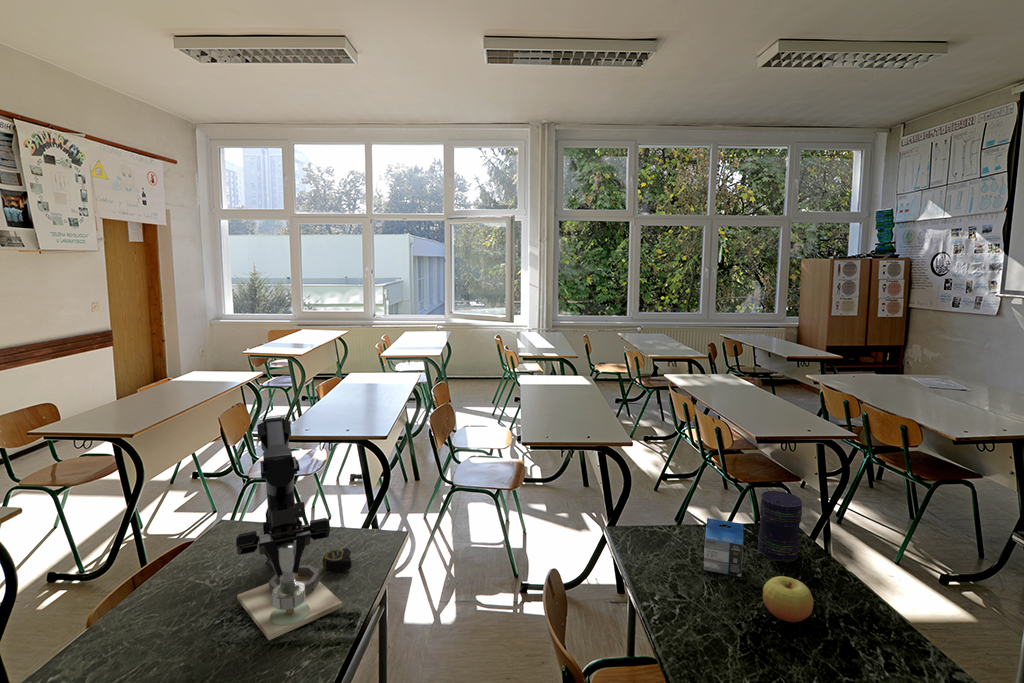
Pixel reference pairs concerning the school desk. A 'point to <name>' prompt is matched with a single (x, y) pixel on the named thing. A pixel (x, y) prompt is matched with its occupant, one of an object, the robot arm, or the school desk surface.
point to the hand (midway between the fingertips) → (287, 575)
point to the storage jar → (779, 525)
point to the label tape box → (723, 547)
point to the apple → (787, 599)
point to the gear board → (265, 607)
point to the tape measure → (337, 560)
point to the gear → (287, 581)
